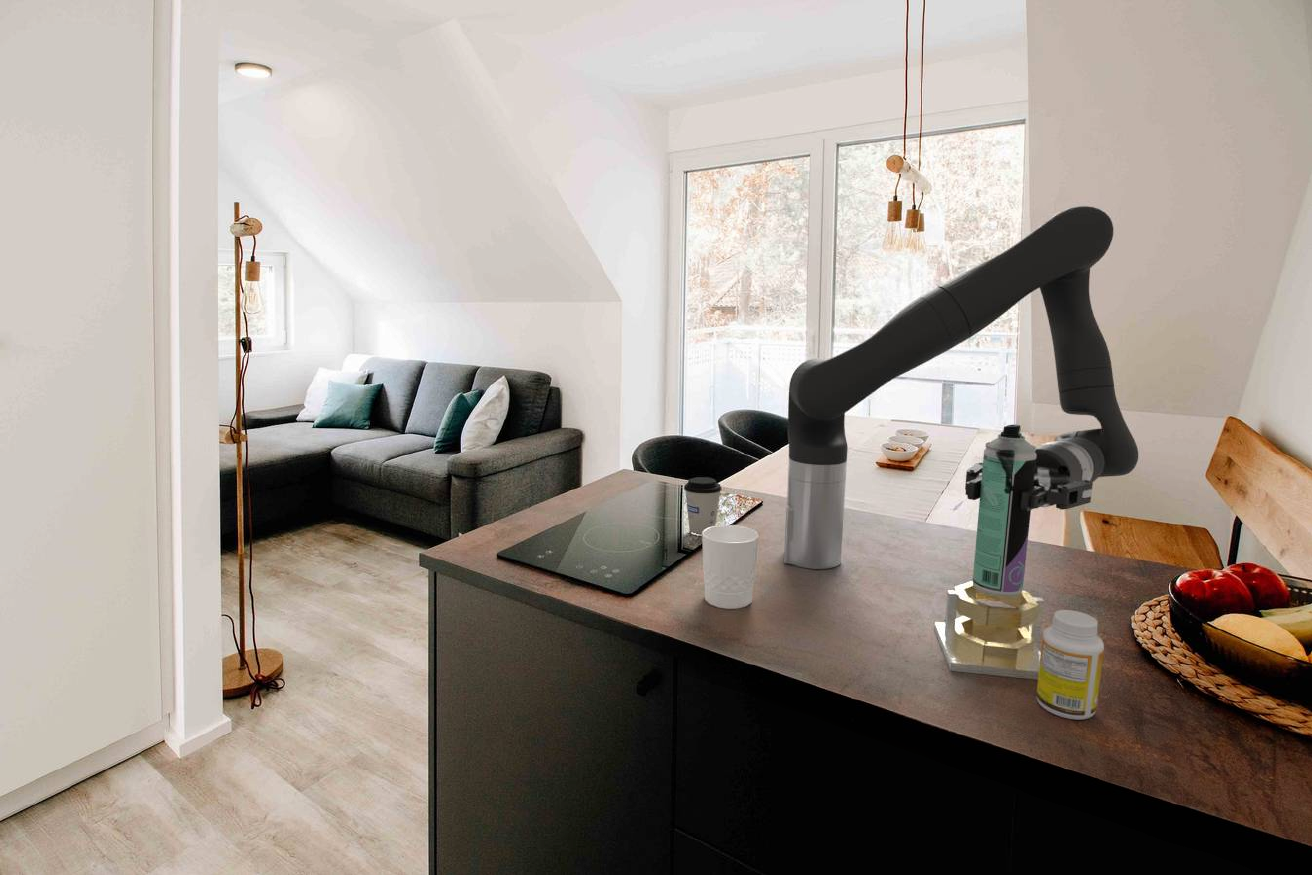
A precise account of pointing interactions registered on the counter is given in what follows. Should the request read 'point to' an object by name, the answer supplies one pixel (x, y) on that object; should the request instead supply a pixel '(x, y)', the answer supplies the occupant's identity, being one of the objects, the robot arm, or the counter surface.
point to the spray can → (1003, 515)
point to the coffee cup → (702, 503)
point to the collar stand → (991, 633)
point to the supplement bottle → (1070, 666)
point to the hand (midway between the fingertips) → (997, 496)
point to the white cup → (729, 565)
